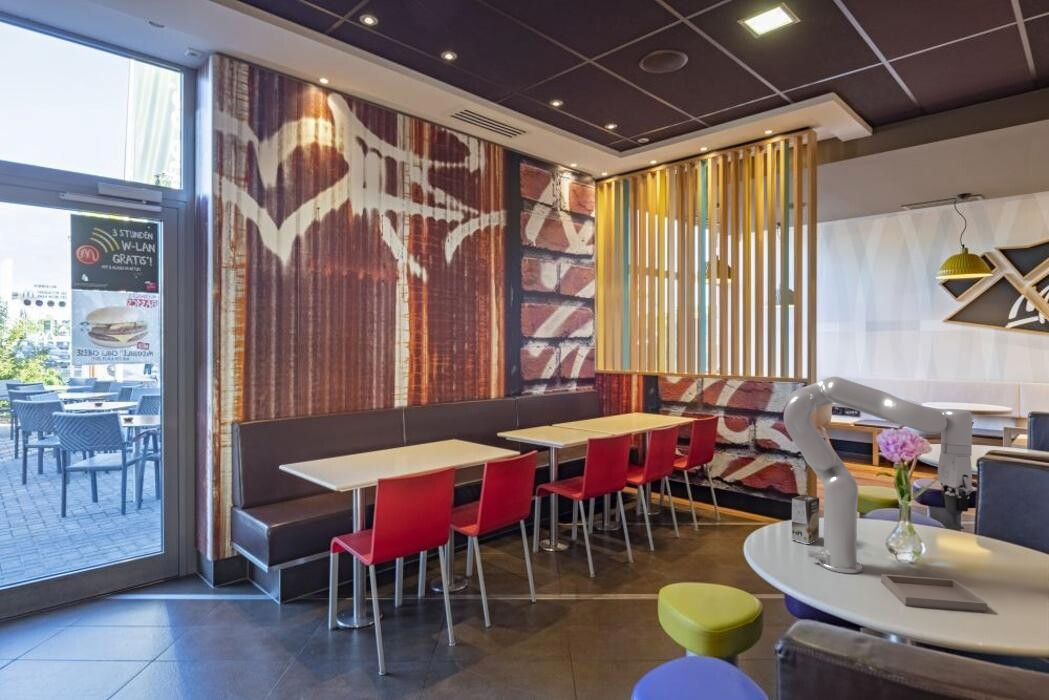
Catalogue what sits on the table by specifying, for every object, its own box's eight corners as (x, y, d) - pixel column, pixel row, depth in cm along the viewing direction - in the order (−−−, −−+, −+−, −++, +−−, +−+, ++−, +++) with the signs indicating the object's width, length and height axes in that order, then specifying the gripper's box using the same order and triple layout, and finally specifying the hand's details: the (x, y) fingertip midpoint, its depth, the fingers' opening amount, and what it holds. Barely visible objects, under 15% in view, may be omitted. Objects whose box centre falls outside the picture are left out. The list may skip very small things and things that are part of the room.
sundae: (972, 531, 168) (974, 481, 168) (948, 529, 169) (949, 480, 169) (960, 524, 174) (961, 476, 174) (936, 522, 176) (937, 475, 176)
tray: (905, 606, 156) (905, 597, 156) (881, 582, 172) (881, 574, 172) (987, 612, 152) (987, 603, 152) (954, 587, 168) (954, 579, 168)
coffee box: (808, 545, 203) (808, 501, 203) (791, 540, 208) (791, 498, 208) (819, 540, 209) (819, 497, 209) (802, 535, 214) (802, 493, 214)
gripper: (927, 444, 181) (926, 499, 181) (958, 454, 164) (957, 515, 164) (953, 445, 179) (951, 500, 180) (987, 455, 162) (986, 517, 162)
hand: (954, 507), depth 172 cm, fingers closed on sundae, 6 cm apart
